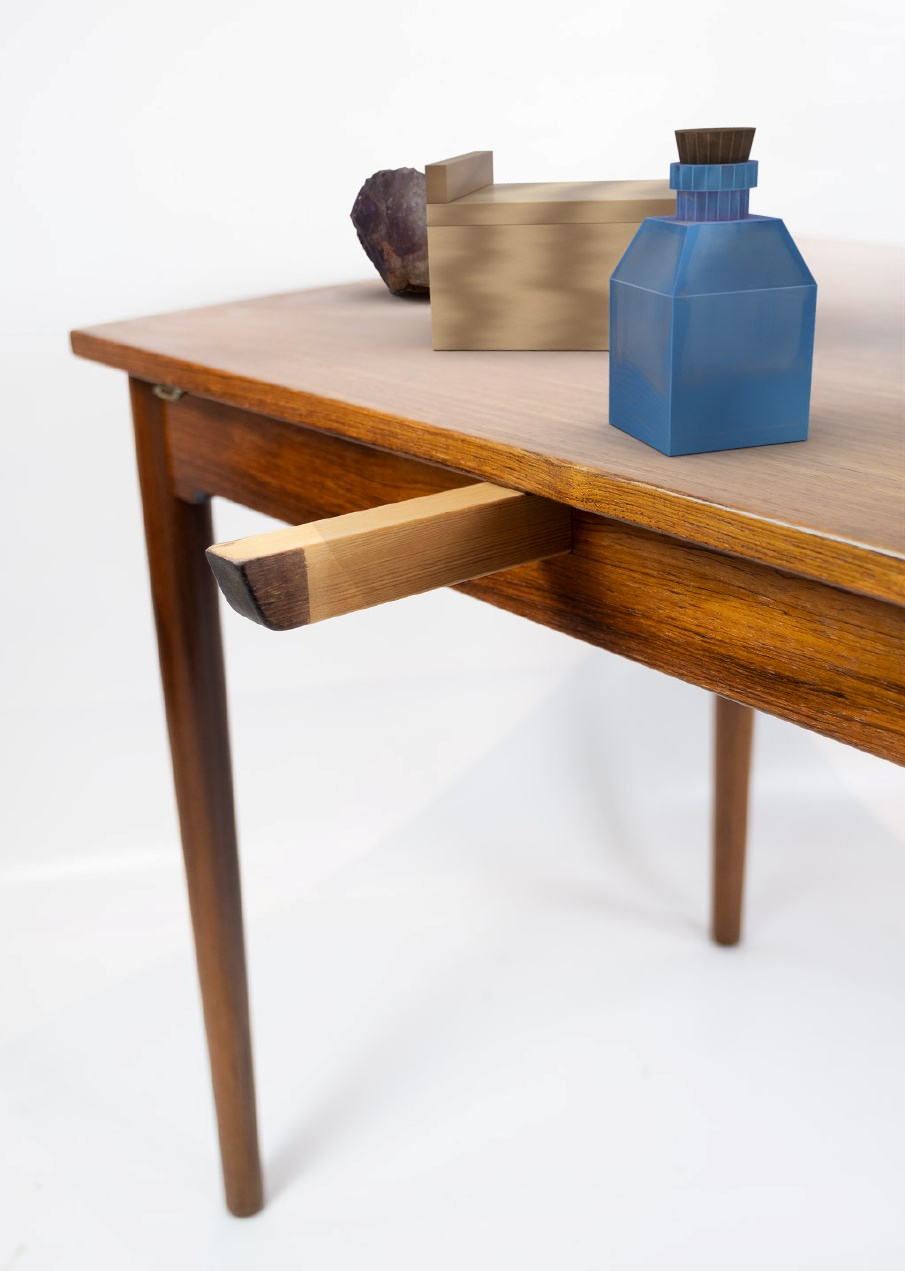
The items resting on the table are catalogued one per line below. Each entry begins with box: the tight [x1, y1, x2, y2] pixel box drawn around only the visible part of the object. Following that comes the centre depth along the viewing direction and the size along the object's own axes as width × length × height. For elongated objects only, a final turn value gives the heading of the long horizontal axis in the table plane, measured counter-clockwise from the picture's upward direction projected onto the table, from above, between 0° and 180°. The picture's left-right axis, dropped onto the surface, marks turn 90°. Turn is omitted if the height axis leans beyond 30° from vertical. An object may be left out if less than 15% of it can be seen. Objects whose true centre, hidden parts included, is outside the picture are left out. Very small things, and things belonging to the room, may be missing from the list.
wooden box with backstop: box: [424, 150, 677, 351], centre depth 79 cm, size 16×14×10 cm
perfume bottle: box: [608, 126, 818, 457], centre depth 54 cm, size 6×6×12 cm
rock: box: [349, 166, 430, 295], centre depth 96 cm, size 12×9×10 cm
